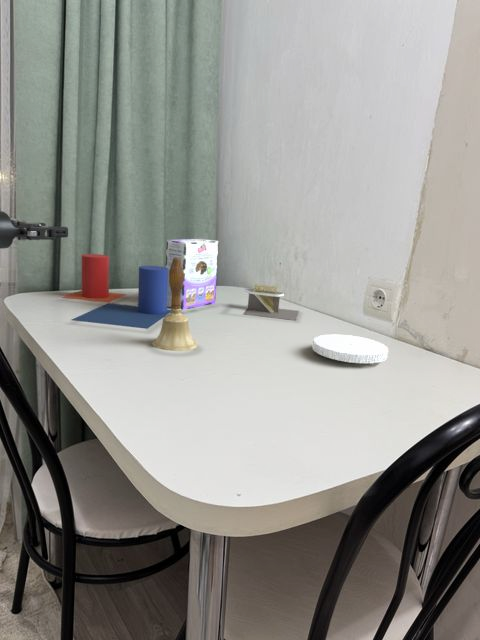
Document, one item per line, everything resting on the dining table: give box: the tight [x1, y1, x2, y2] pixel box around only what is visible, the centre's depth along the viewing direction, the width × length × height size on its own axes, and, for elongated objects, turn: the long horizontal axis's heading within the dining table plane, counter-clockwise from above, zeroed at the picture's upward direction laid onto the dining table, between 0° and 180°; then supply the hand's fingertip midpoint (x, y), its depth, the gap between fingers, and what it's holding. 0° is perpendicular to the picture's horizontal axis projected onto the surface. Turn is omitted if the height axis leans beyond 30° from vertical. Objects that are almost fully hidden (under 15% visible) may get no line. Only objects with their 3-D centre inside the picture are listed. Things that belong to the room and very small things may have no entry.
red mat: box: [60, 289, 128, 304], centre depth 127 cm, size 12×12×1 cm
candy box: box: [165, 238, 219, 311], centre depth 125 cm, size 14×6×16 cm, turn 149°
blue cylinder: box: [137, 265, 168, 314], centre depth 115 cm, size 6×6×10 cm
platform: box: [242, 283, 300, 321], centre depth 128 cm, size 12×18×7 cm, turn 82°
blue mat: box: [71, 302, 171, 330], centre depth 111 cm, size 16×19×1 cm
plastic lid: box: [311, 333, 389, 364], centre depth 95 cm, size 14×14×2 cm
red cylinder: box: [80, 253, 110, 298], centre depth 126 cm, size 6×6×10 cm
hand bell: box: [151, 258, 199, 352], centre depth 90 cm, size 8×8×16 cm
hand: (55, 229), depth 114 cm, fingers open, 8 cm apart
